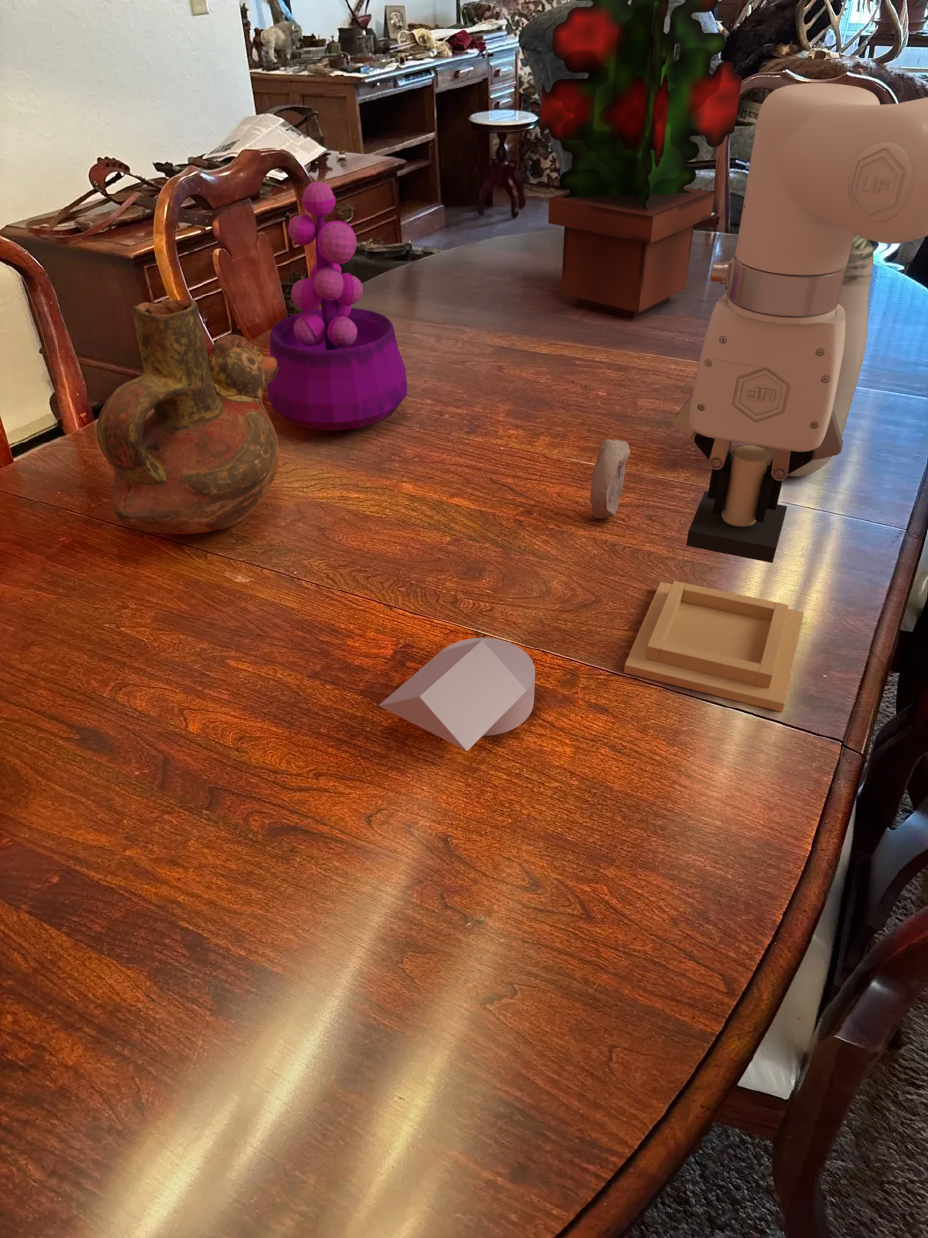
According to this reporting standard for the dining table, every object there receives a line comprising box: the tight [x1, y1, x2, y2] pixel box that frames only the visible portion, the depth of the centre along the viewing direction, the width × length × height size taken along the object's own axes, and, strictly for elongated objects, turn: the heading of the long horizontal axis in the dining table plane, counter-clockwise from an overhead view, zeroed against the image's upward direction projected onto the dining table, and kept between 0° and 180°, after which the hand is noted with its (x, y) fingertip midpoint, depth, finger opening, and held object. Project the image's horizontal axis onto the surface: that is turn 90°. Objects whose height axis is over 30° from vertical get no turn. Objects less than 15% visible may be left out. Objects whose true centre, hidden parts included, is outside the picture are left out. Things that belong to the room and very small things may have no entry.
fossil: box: [589, 438, 631, 520], centre depth 102 cm, size 6×4×10 cm, turn 149°
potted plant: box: [539, 0, 743, 319], centre depth 149 cm, size 22×22×45 cm
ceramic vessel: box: [96, 298, 280, 535], centre depth 99 cm, size 17×26×25 cm, turn 152°
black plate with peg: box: [685, 445, 788, 564], centre depth 76 cm, size 7×7×8 cm
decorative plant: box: [266, 181, 408, 431], centre depth 118 cm, size 19×18×30 cm
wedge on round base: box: [378, 637, 536, 752], centre depth 78 cm, size 9×7×13 cm
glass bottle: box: [757, 234, 874, 477], centre depth 105 cm, size 10×10×28 cm
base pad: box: [623, 580, 805, 713], centre depth 86 cm, size 14×14×2 cm
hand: (740, 508), depth 76 cm, fingers closed on black plate with peg, 2 cm apart
